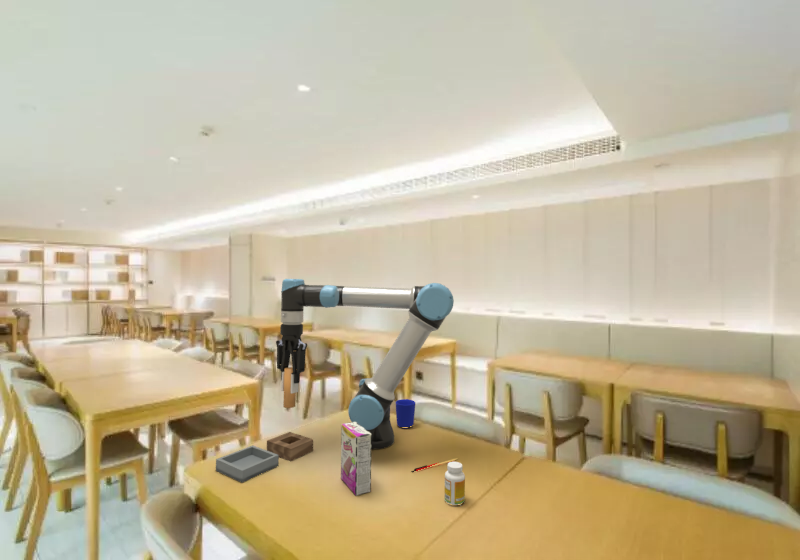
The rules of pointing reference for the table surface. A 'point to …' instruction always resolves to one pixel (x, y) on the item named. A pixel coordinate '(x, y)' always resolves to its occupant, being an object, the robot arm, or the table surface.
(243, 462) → the tray
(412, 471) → the pen
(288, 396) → the pin
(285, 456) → the hitch block
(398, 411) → the mug
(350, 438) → the candy bar box
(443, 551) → the table surface
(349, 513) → the table surface
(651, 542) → the table surface
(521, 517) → the table surface
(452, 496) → the supplement bottle
